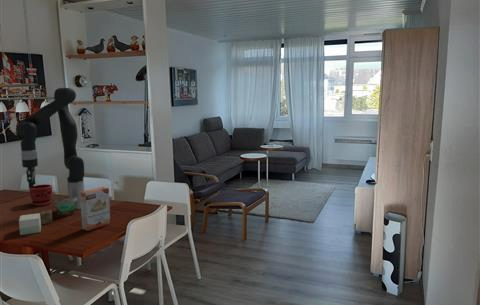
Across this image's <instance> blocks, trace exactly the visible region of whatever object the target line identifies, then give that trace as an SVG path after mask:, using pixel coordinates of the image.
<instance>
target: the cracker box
mask: <svg viewBox="0 0 480 305" xmlns="http://www.w3.org/2000/svg"><path fill="white" fill-rule="evenodd" d="M109 188H110V187H106V186H100V187H96V188H95V187H94V188H91V189H87V190H84V191H82V192H80V199H81V209H80V213H81V214H80V216H81V229H82V230H84V231H87V232H89V231H92V230H95V229H98V228H101V227H104V226H108V225H110V224H111V210H110V207H111V206H110V189H109Z"/></svg>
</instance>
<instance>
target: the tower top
mask: <svg viewBox="0 0 480 305" xmlns="http://www.w3.org/2000/svg"><path fill="white" fill-rule="evenodd" d="M40 221H41V222H42V219H41V213H40V212H39V213H38V212H37V213H30V214H24V215H20V216H19V219H18V227H19V229H20V228H26V227H33V226H40Z"/></svg>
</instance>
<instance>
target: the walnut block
mask: <svg viewBox="0 0 480 305" xmlns="http://www.w3.org/2000/svg"><path fill="white" fill-rule="evenodd" d="M52 212H53V210H52V209H49V210H42V211H41V213H40V219H41V225H45V224H46V225H47V224H53V213H52Z"/></svg>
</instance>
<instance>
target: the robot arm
mask: <svg viewBox="0 0 480 305" xmlns="http://www.w3.org/2000/svg"><path fill="white" fill-rule="evenodd" d="M53 96H54V98H53V99H54V100H53V101H51V102H50V103H47V104H46V105H44V106H42V107H40V108H38V109H37V110H36V111H35V112H33V114H32V115H30V116H28V117H26V118H24V119H23V120H21V121H20V122H19V123H18V124H17V125H16V129H15V130H16V132H17V133H18V134H19V135H22V136H23V135H24V137H23V139H21V141H20V149H21V150H20V151H21V153H20V156H21V164H22V165H21V166H22V167H23V168H26V170H25V171H26V172H25V173H26V181H27V183H28V184H27V185H28V189H29V188H33V187H34V186H36V167H38V165H39V162H38V152H37V147H36V140H37V134H38V129H37V127H38V126H41V125H43V124H45V122H47V121H48V120H49V119H50V118H51V117H53V116H54V115H55V114H56V113H57V115H58V120H59V121H58V122H59V129H60V135H61V140H62V146H63V162H64V163H63V164H64V167H65V168H66V169H67V170H68V171H69V172H68V173H69V174H68V177H67V180H66V181H67V190H68V199H73V198H75V197H76V198H77V201H76V206H75V210H81V199H80V192H82V191H85V182H84V177H85V163H84V160H83V158H82V157H79V156H78V152H77V148H76V147H77V146H76V145H77V141H78V137H79V136H78V127H77V123H76V120H75V119H74V117H73V116H72V114H71V112H70V110H69V105H71V103H73V102H74V101H75V100H76V98H77V94H76V91H75V90H74V89H73V88H70V87H58V88H56V89H55V90H54V94H53Z"/></svg>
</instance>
